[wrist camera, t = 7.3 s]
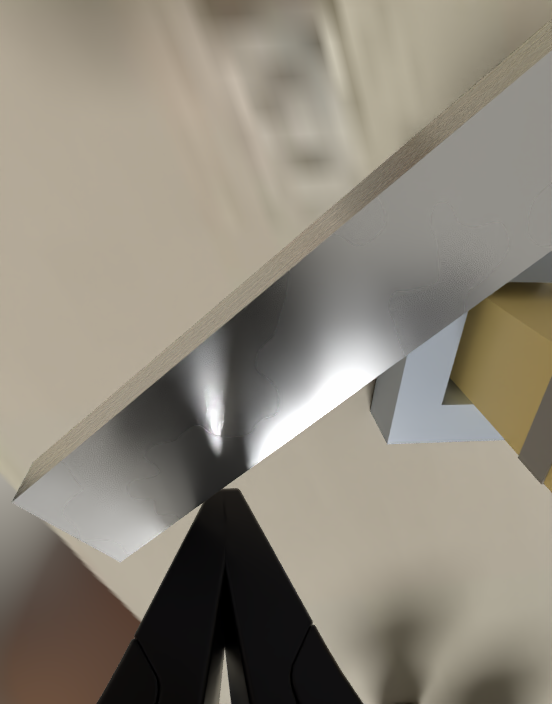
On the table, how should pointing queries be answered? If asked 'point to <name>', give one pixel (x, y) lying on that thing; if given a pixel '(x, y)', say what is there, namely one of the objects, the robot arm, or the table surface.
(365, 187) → the silver metal plank
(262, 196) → the table surface
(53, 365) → the table surface
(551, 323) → the plug
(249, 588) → the robot arm
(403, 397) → the socket
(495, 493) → the table surface
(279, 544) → the table surface
